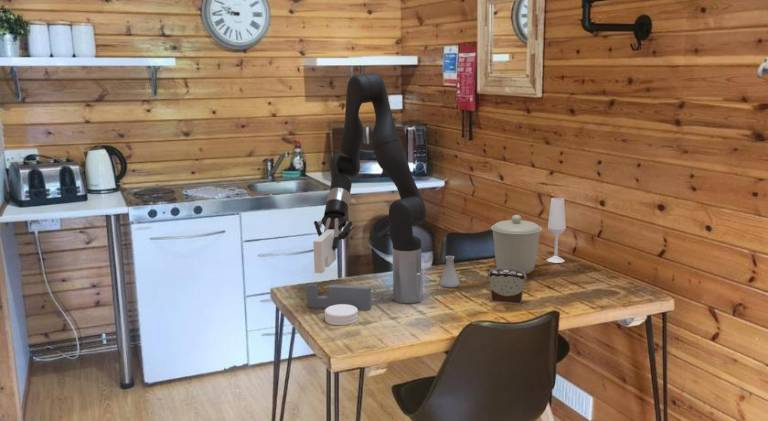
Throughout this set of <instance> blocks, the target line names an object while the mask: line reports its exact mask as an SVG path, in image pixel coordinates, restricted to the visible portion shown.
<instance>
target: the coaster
mask: <svg viewBox="0 0 768 421" xmlns="http://www.w3.org/2000/svg"><path fill="white" fill-rule="evenodd" d="M358 312H359V310H358V309H357V308H356V307H355V306H352V305H347V304H338V305H333V306H330V307H328V308H324V321H325V322H326V323H327V324H329V325H332V326H348V325H352V324H355V323H357V321H358V320H359V313H358Z"/></svg>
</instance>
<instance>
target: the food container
mask: <svg viewBox="0 0 768 421" xmlns="http://www.w3.org/2000/svg"><path fill="white" fill-rule="evenodd" d="M487 278H489V286H490V296H491V302H492V303H503V304H513V305H514V304H515V305H522V302H523V293H524V285H525V281H527V274H525V272H524V271H522V270H520V269H516V268H497V267H496V268H491V269H489V271H488V273H487Z"/></svg>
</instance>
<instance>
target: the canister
mask: <svg viewBox="0 0 768 421" xmlns="http://www.w3.org/2000/svg"><path fill="white" fill-rule="evenodd" d="M490 230H491V231H492V238H493V239H492V240H493V248H494V256H495V264H496V265H495V266H496V268H516V269H520V270H522V271H524V272H525V274H526V275H528V274H530V273H532V272H533V271H534V269H535V267H536V263H537V256H538V249H539V242H540V235H541V232H542V231H543V228H542V226H541V225H539V224H537V223H536V222H532V221H529V220H522V216H521V215H519V214H514V215H512V216H511V219H508V220H501V221H500V220H499V221H497V222H496V223H494V224H492V225H491V226H490Z"/></svg>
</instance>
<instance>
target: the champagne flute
mask: <svg viewBox="0 0 768 421" xmlns="http://www.w3.org/2000/svg"><path fill="white" fill-rule="evenodd" d="M550 199H551V200H550V205H549V207H550V208H549V214H548V222H547V229H548V232H550V233H551V234H552V235H553V236H554V251H553V252H554V253H553V254H554V255H553V256H550V257H549V258H546V261H547V262H549V263H555V264H556V263H557V264H559V263H564V262H565V259H563V257H560V256H559V255H558V252H559V251H558V250H559V248H558V247H559V244H558V243H559V236H560V235H562V234H563V233H564V232H565V231H566V229H567V223H566V221H567V220H566V208H565V206H566V205H565V198H563V197H552V198H550Z"/></svg>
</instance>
